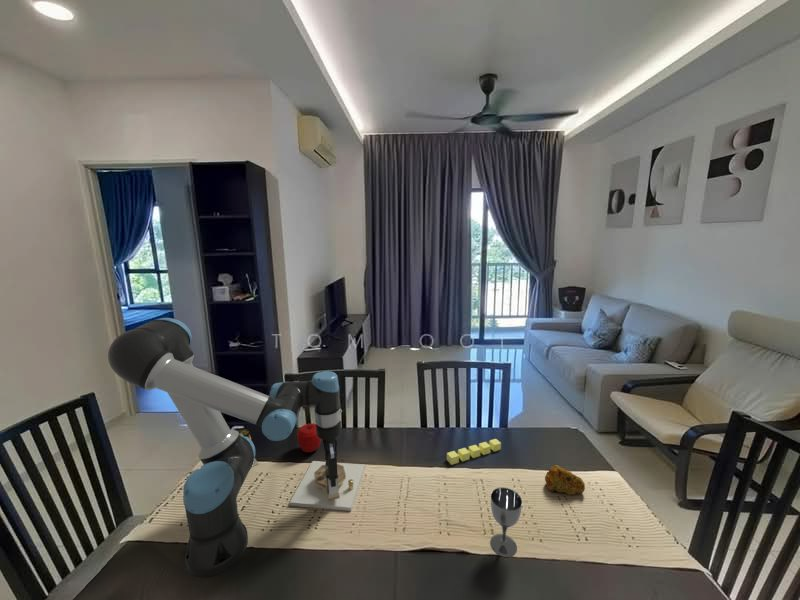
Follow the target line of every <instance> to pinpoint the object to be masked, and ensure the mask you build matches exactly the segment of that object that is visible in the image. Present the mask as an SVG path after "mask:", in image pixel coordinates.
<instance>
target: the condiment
mask: <svg viewBox="0 0 800 600" xmlns="http://www.w3.org/2000/svg"><path fill="white" fill-rule="evenodd" d="M237 431H238V433H239V434H241V435H243V436H244V437H248V438H249V439H250V440H251V441H252V437H251V434H250V431H249V430H248V429H240V430H237ZM257 465H259V462H258V461H257V459H256V457H255V458H254V463H253V466H252V467H255V466H257Z"/></svg>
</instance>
